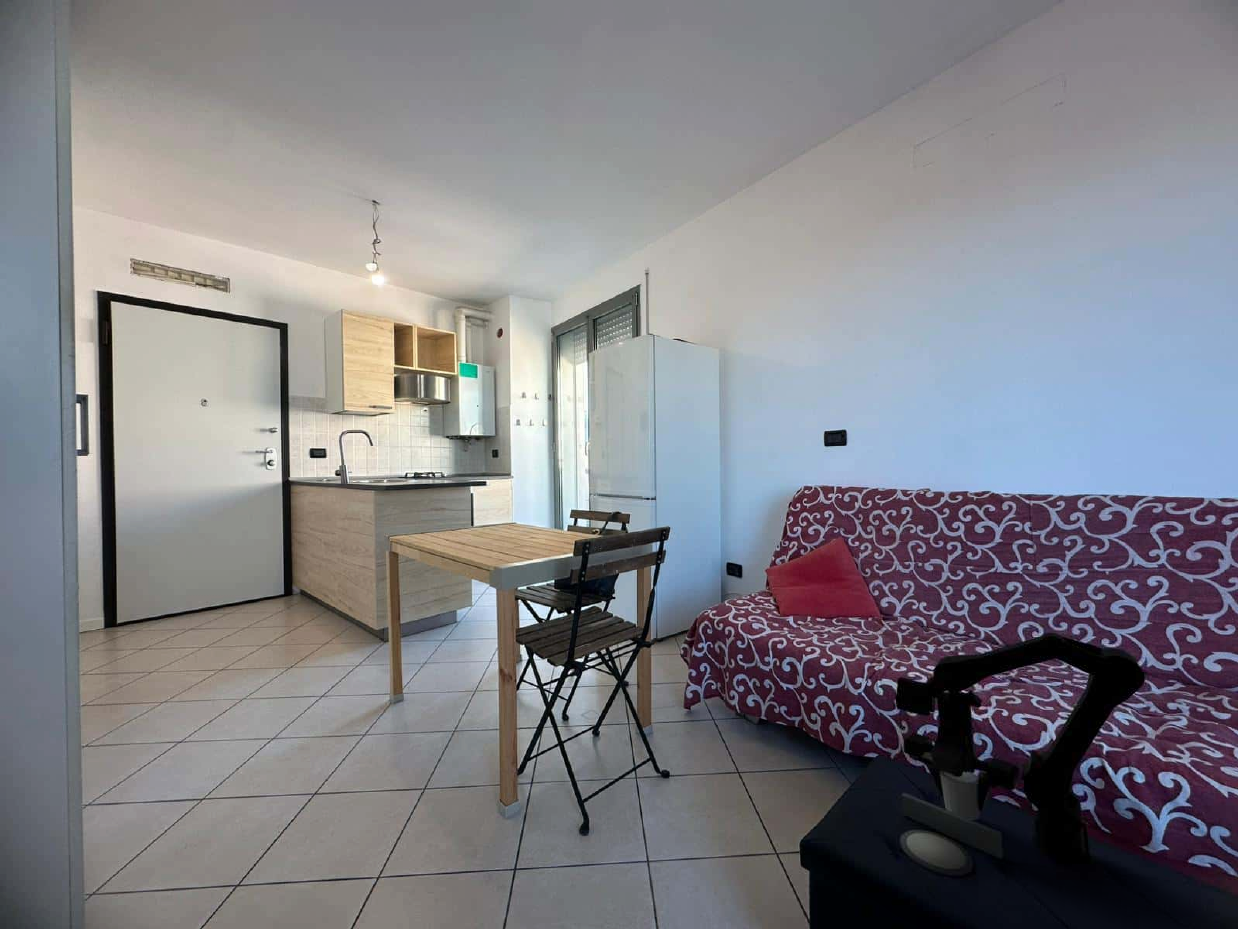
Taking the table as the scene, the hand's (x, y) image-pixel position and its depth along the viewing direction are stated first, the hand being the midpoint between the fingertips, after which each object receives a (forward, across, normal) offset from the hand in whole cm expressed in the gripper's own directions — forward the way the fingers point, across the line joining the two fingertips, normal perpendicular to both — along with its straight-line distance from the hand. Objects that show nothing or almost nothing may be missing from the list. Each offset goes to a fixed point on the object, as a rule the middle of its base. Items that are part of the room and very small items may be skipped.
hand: (961, 803), depth 96 cm
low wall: (+3, 0, -8) cm, 8 cm away
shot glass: (+2, 0, 0) cm, 2 cm away
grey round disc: (+3, 0, -15) cm, 15 cm away
